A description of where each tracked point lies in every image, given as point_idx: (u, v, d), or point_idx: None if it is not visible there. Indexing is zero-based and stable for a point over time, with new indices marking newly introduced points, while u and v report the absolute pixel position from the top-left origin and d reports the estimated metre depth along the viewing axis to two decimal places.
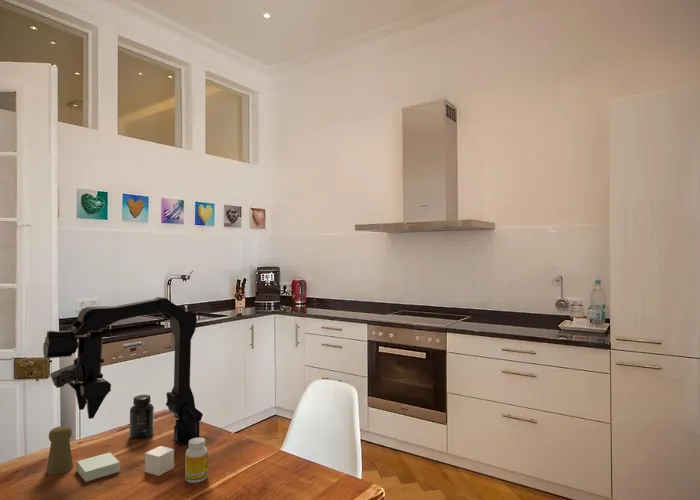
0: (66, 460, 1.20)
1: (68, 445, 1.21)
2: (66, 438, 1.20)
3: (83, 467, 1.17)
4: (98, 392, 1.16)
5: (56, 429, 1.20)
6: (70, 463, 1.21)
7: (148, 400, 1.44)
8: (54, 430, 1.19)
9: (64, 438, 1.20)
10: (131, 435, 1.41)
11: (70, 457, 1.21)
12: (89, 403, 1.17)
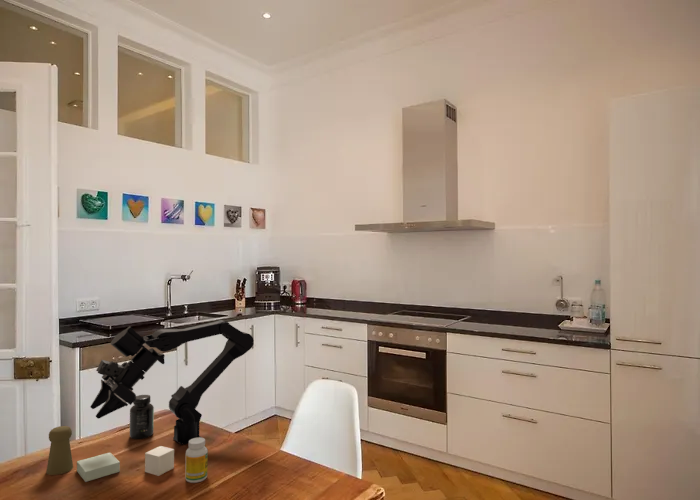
0: (66, 460, 1.20)
1: (68, 445, 1.21)
2: (66, 438, 1.20)
3: (83, 467, 1.17)
4: (123, 398, 1.22)
5: (56, 429, 1.20)
6: (70, 463, 1.21)
7: (148, 400, 1.44)
8: (54, 430, 1.19)
9: (64, 438, 1.20)
10: (131, 435, 1.41)
11: (70, 457, 1.21)
12: (108, 403, 1.22)
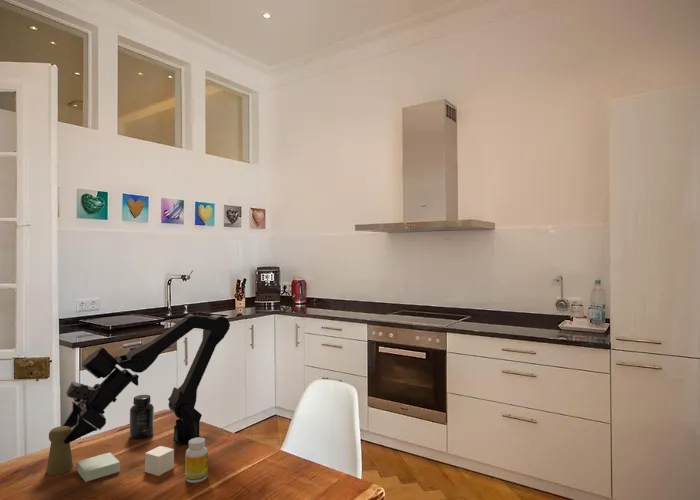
0: (66, 460, 1.20)
1: (68, 445, 1.21)
2: None
3: (83, 467, 1.17)
4: (92, 422, 1.17)
5: (56, 429, 1.20)
6: (70, 463, 1.21)
7: (148, 400, 1.44)
8: (54, 430, 1.19)
9: (64, 438, 1.20)
10: (131, 435, 1.41)
11: (70, 457, 1.21)
12: (76, 428, 1.18)
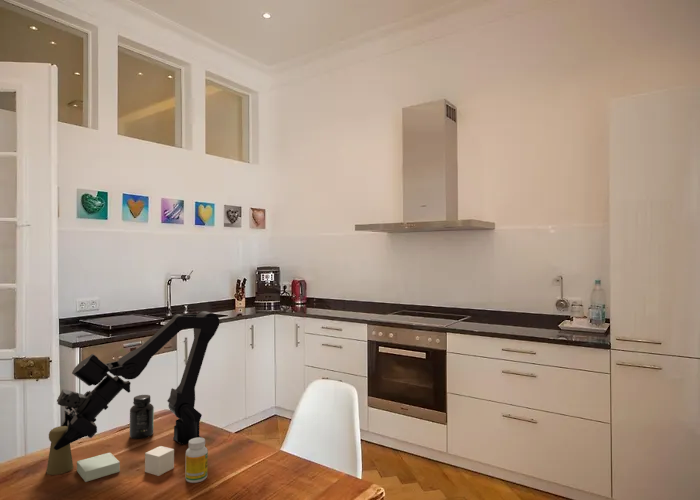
0: (66, 460, 1.20)
1: (68, 445, 1.21)
2: None
3: (83, 467, 1.17)
4: (83, 431, 1.16)
5: (56, 429, 1.20)
6: (70, 463, 1.21)
7: (148, 400, 1.44)
8: (54, 430, 1.19)
9: None
10: (131, 435, 1.41)
11: (70, 457, 1.21)
12: (66, 434, 1.18)
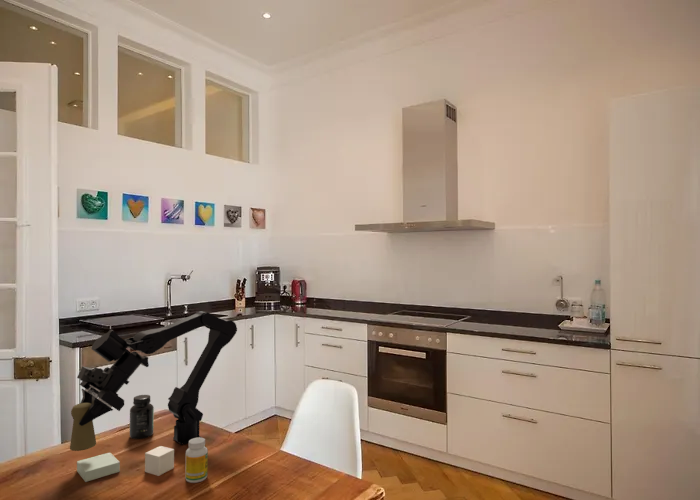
0: (90, 436, 1.20)
1: (91, 421, 1.21)
2: None
3: (83, 467, 1.17)
4: (111, 404, 1.17)
5: (79, 405, 1.19)
6: (94, 439, 1.21)
7: (148, 400, 1.44)
8: (77, 407, 1.19)
9: None
10: (131, 435, 1.41)
11: (93, 433, 1.21)
12: (92, 409, 1.18)
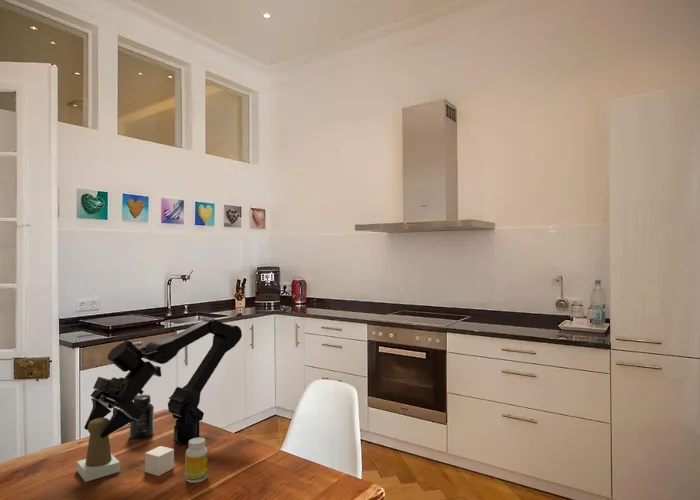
0: (107, 451, 1.20)
1: (108, 436, 1.21)
2: None
3: (83, 467, 1.17)
4: (132, 414, 1.18)
5: (96, 421, 1.19)
6: (110, 454, 1.21)
7: (148, 400, 1.44)
8: (95, 422, 1.18)
9: None
10: (131, 435, 1.41)
11: (109, 448, 1.21)
12: (113, 421, 1.18)
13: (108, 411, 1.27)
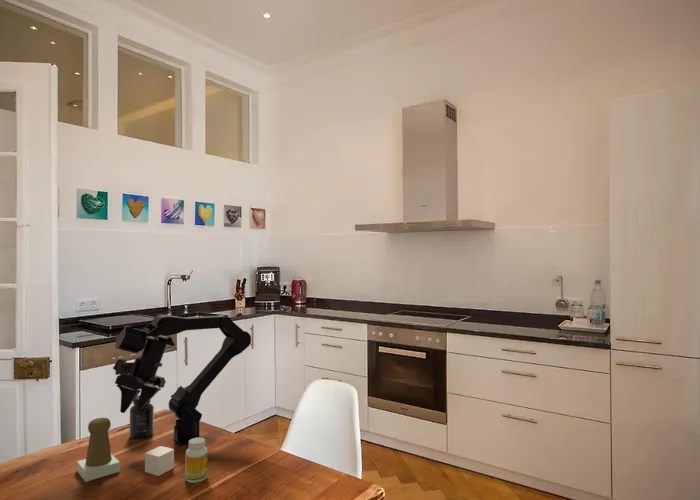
0: (107, 451, 1.20)
1: (108, 436, 1.21)
2: (107, 429, 1.20)
3: (83, 467, 1.17)
4: (124, 385, 1.23)
5: (96, 421, 1.19)
6: (110, 454, 1.21)
7: None
8: (95, 422, 1.19)
9: (106, 429, 1.19)
10: (131, 435, 1.41)
11: None
12: (122, 396, 1.26)
13: (154, 390, 1.37)
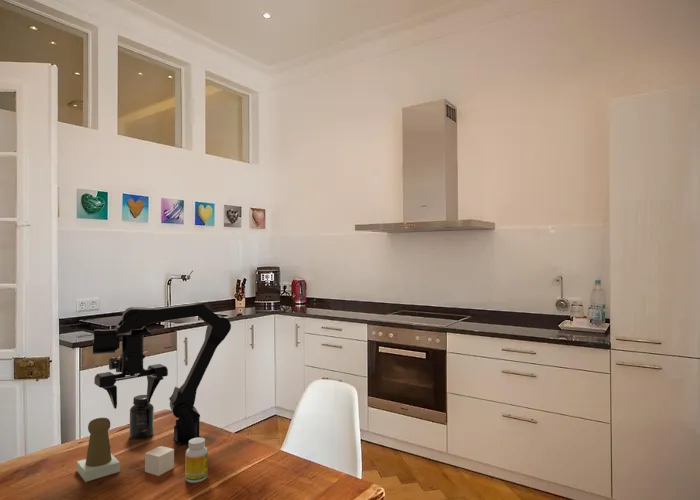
0: (107, 451, 1.20)
1: (108, 436, 1.21)
2: (107, 429, 1.20)
3: (83, 467, 1.17)
4: (97, 384, 1.27)
5: (96, 421, 1.19)
6: (110, 454, 1.21)
7: None
8: (95, 422, 1.19)
9: (106, 429, 1.19)
10: (131, 435, 1.41)
11: (109, 448, 1.21)
12: (108, 393, 1.30)
13: (153, 380, 1.36)
